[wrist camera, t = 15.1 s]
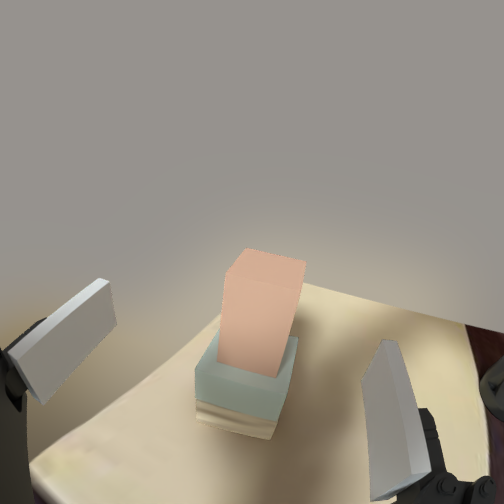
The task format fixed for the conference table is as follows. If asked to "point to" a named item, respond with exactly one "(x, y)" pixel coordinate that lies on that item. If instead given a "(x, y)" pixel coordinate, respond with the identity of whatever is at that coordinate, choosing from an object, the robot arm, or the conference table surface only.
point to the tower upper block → (244, 383)
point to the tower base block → (234, 420)
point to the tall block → (259, 310)
